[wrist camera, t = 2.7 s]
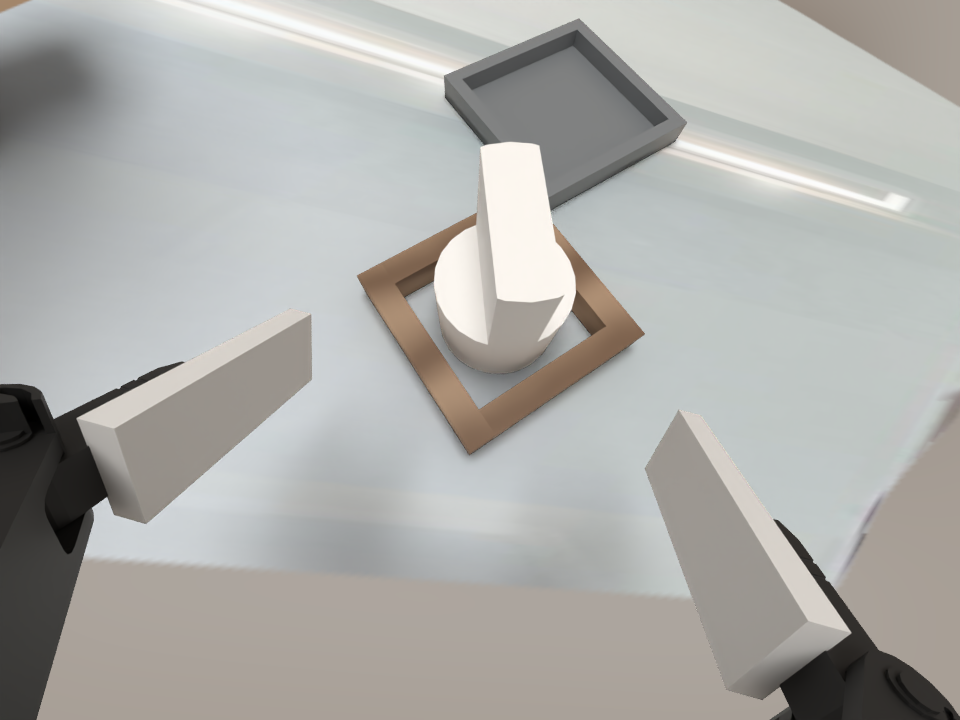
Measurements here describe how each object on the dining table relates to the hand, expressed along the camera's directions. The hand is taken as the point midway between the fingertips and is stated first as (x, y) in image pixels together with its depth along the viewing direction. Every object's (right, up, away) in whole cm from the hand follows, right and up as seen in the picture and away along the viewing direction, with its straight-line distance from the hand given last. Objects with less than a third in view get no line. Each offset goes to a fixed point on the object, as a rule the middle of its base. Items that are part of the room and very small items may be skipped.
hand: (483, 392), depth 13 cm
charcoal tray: (+8, +24, +22) cm, 34 cm away
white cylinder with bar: (+1, +4, +16) cm, 16 cm away
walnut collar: (+1, +4, +15) cm, 16 cm away
